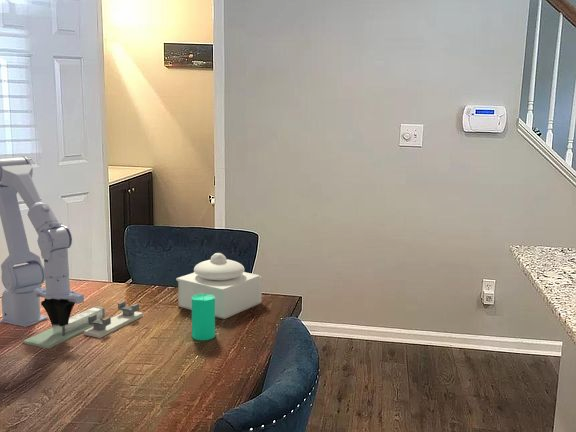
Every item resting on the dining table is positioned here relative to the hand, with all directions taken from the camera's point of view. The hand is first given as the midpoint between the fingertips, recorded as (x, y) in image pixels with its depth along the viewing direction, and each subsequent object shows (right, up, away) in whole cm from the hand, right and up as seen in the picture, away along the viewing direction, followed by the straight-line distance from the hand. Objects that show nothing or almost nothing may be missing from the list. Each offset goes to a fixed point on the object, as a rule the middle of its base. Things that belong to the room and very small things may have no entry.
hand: (60, 326), depth 161 cm
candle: (+36, -3, +2) cm, 36 cm away
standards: (+12, -1, +8) cm, 14 cm away
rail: (+3, -1, +6) cm, 7 cm away
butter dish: (+38, +1, +27) cm, 46 cm away
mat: (-1, -2, +1) cm, 2 cm away
